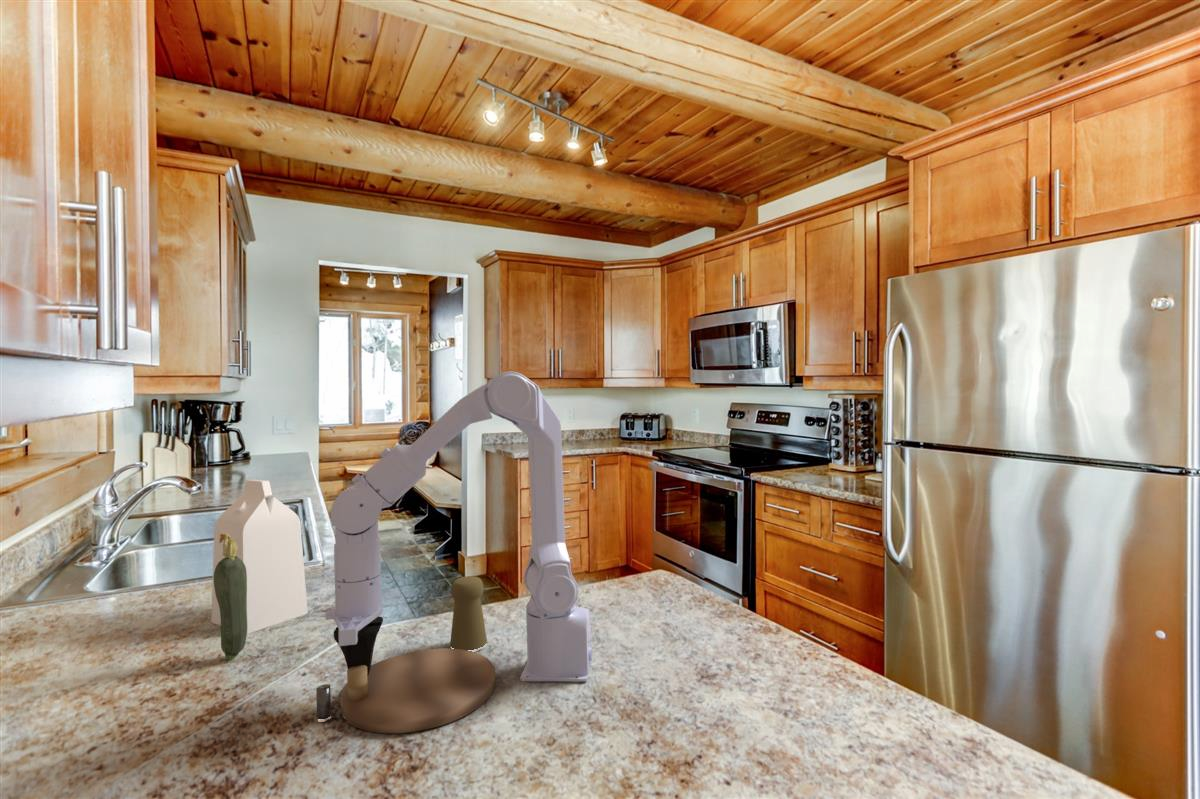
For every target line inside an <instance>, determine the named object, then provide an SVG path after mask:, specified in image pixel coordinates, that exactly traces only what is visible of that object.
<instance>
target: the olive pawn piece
mask: <svg viewBox="0 0 1200 799" xmlns="http://www.w3.org/2000/svg"><path fill="white" fill-rule="evenodd" d="M484 590H485V588H484V583H483V581H482V579H481V578H480V577H478V576H474V575H473V576H471V575H469V576H461V577H459V578H456V579H455V580H454V581H453V582H452V584H451V587H450V593H451V597H452V599H453V600H454V605H453V613H452V623H451V632H450V633H451V634H450V642H449V647H450V646H451V647H452V648H454V649H461V650H467V651H468V650H474V649H478V648H480V647H483V646H484V645H485V644H486V643H487V644H488V639H487V631H486V625H485V618H484V613H483V607H482V601H481V600H482V599H481V598H482V595H483V594H484Z"/></svg>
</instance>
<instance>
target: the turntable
mask: <svg viewBox="0 0 1200 799" xmlns="http://www.w3.org/2000/svg"><path fill="white" fill-rule="evenodd" d="M346 678H347V680H346V684H345V685H344V686H343V688H342V689H341V694H340V710H341V711H342V713H341V715H342V714H343V716H344V717H345V718H346V720H347V721H348V722H349V723H348V722H347V721H346V720H345V721H346V722H347V723H348V724H349V725H351V726H353V727H355V728H357V729H359V730H363V731H366V732H371V733H378V734H379V733H380V734H403V733H407V734H408V733H414V732H419V731H425V730H430V729H433V728H436V727H441V726H444V725H446V724H450V723H453V722H454V721H458V720H460V719H461V718H463V717H465V716H468V715H469V714H471V713H472V712H474V711H476V710H478V708H480V707H481V706H482V705H484V704H485V703H486V701H488V700H489V698H490V697H491V696H492V694H493V693H494V690H495V688H496V668H495V666H494V664H493V662H492V661H491V660H490V659H489V658H487V657H486V656H484V655H483V654H481V653H479V652H472V651H467V650H461V649H450V648H443V647H442V648H430V649H429V648H428V649H421V650H414V651H410V652H405V653H401V654H398V655H394V656H391V657H388V658H385V659H382V660H380V661H377V662H375V663H373V664H371V668H370V672H369V675H368V678H367V666H365V665H357V666H353V667H351V668H349V669H348V668H347V670H346ZM343 716H342V717H343ZM344 717H343V718H344Z"/></svg>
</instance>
